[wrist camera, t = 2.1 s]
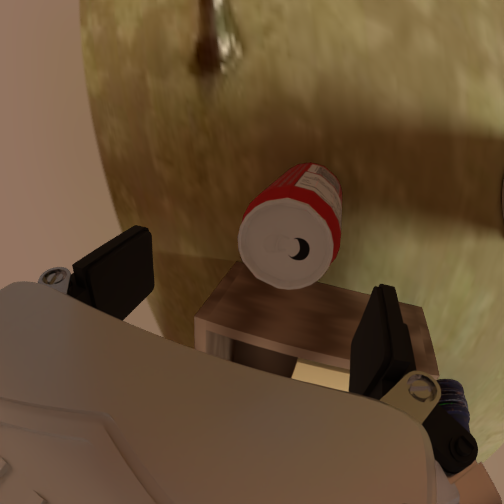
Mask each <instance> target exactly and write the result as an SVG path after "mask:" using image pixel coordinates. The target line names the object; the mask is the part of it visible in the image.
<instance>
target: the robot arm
mask: <svg viewBox="0 0 504 504" xmlns="http://www.w3.org/2000/svg"><path fill="white" fill-rule="evenodd" d="M502 209H503V217H504V181H503V188H502ZM72 266H73V271H74V273H73V274H71V273H70V271H69V270H68V269H67V268H64V267H56V268H52V269H49V270H47V271H45V272H44V273H43V274H42V275H41V276H40V278H39V280H38V283H35V282H14V283H12V284H10V285H8V286H6V287H4V288H3V289H1V290H0V504H502V500H501V497H500V495H499V493H498V491H497V489H496V487H495V485H494V483H493V482H492V480H491V478H490V476H489V474H488V472H487V471H486V469H485V467H484V466H483V464H482V462H480V463H477V461H476V460H475V459H476V457H477V453H478V447H477V443H476V440H475V438H474V437H473V436H472V435H471V434H470V433H469V432H468V431H467V430H466V429H465V428H464V427H463V426H462V425H461V424H460V423H459V422H457V421H456V420H455V419H454V418H453V417H452V416H451V415H450V414H449V413H448V412H447V411H446V410H444V409H443V408H442V407H441V406H440V405H439V404H438V401H439V399H440V397H441V389H440V386H439V384H438V382H437V381H436V380H435V379H434V378H433V377H432V376H431V375H429V374H427V373H425V372H422V371H417V369H416V364H415V358H414V353H413V348H412V343H411V339H410V334H409V330H408V326H407V324H405V323H403V319H402V314H401V310H400V306H399V302H398V298H397V294H396V290H395V287H393V286H388V285H384V284H380V285H379V287H376V286H375V287H374V288H373V291H372V293H371V296H370V299H369V301H368V304H367V306H366V308H365V311H364V313H363V316H362V318H361V321H360V323H359V325H358V328H357V330H356V332H355V334H354V337H353V339H352V342H351V353H350V376H349V392H347V391H343V390H338V389H334V388H330V387H326V386H322V385H317V384H313V383H309V382H304V381H300V380H296V379H292V378H288V377H284V376H280V375H276V374H273V373H269V372H265V371H262V370H258V369H255V368H252V367H248V366H245V365H241V364H238V363H235V362H232V361H229V360H226V359H222V358H219V357H216V356H213V355H210V354H207V353H204V352H202V351H199V350H196V349H193V348H190V347H187V346H185V345H182V344H179V343H177V342H174V341H171V340H169V339H166V338H163V337H161V336H158V335H156V334H153V333H151V332H148V331H146V330H143V329H141V328H139V327H136V326H134V325H131V324H129V323H127V322H124V321H123V320H124V319H125V318H126V317H127V316H128V315H129V314H130V313H131V312H132V311H133V310H134V309H135V308H136V307H137V306H138V305H139V304H140V303H141V302H142V301H143V300H144V299H145V298H146V297H147V296H148V295H149V294H150V293H151V292H152V291H153V289H154V271H153V255H152V235H151V233H150V232H149V230H148V228H146V227H141V226H137V225H135V226H133V227H131V228H130V229H128V230H126V231H125V232H123V233H121V234H120V235H119V236H116V237H115V238H113V239H112V240H110V241H108V242H107V243H105V244H104V245H102V246H100V247H99V248H97V249H96V250H94V251H93V252H91V253H90V254H88V255H86V256H85V257H83V258H82V259H81V260H79V261H77V262H76V263H74V264H73V265H72Z"/></svg>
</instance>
